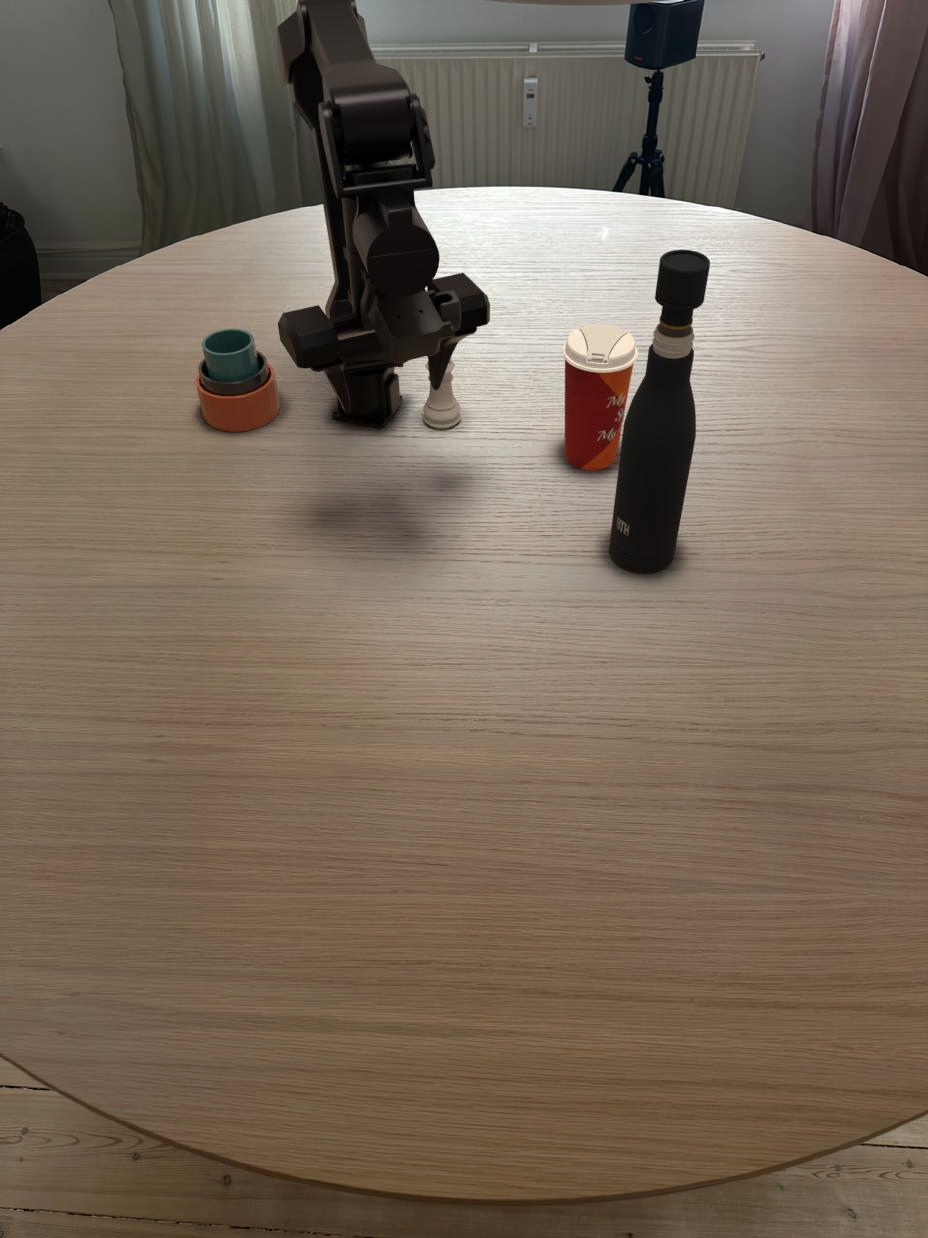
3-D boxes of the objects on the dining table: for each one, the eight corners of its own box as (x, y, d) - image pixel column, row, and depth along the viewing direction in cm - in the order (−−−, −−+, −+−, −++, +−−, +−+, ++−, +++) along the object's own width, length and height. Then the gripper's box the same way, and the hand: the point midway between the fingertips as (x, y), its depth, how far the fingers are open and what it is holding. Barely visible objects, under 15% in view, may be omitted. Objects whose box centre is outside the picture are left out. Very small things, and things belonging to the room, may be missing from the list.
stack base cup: (189, 423, 114) (180, 389, 111) (228, 383, 120) (221, 350, 117) (256, 438, 112) (250, 404, 108) (293, 397, 118) (287, 363, 114)
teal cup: (205, 407, 113) (191, 349, 108) (230, 382, 117) (218, 324, 112) (249, 417, 112) (237, 358, 107) (273, 390, 116) (263, 333, 110)
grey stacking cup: (196, 421, 114) (185, 376, 110) (229, 387, 119) (220, 342, 115) (254, 434, 112) (245, 388, 108) (286, 398, 117) (278, 353, 113)
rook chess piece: (467, 413, 115) (466, 352, 109) (451, 433, 112) (449, 371, 106) (433, 405, 116) (430, 343, 110) (416, 424, 113) (412, 363, 107)
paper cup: (622, 479, 105) (636, 363, 95) (551, 471, 106) (557, 356, 97) (628, 438, 111) (642, 324, 101) (560, 430, 112) (568, 317, 102)
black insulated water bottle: (679, 538, 98) (733, 247, 77) (667, 579, 94) (720, 284, 73) (616, 525, 100) (652, 236, 79) (601, 565, 96) (635, 272, 74)
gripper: (304, 307, 76) (327, 470, 87) (519, 258, 82) (514, 418, 93) (264, 249, 83) (289, 406, 95) (463, 208, 89) (465, 362, 100)
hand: (391, 399), depth 95 cm, fingers open, 9 cm apart
